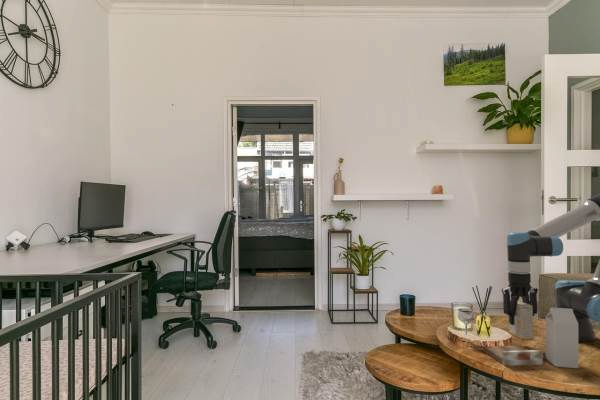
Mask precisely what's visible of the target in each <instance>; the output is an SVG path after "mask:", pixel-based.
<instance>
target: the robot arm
mask: <svg viewBox="0 0 600 400" xmlns="http://www.w3.org/2000/svg"><path fill="white" fill-rule="evenodd" d="M581 204H582V205H579V206H577V207H575V208H574V209H571V210H569V211H567V212H565V213H563V214H561V215H559V216H557V217H555V218H553V219H551V220H548V221H547V222H545V223H542V224H540V225H538V226H537V227H534V228H532V229H530V230H528V231H526V232H525V231H511V232H508V233H507V237H506V238H507V239H506V247H507V250H506V251H507V271H508V272H507V276H508V277H507V279H508V286H507V287H506V288H501V292H502V295H503V296H502V297H503V298H502V299H503V300H502V301H503V303H502V305H503V313H504V314H505V315H507V316H508V324H509V323H510V324H511V332H512V333H514V334H518V333H517V317H516V316H515V313H516V308H517V303H518V301H520V298H521V301H522V302H523V303H526V304H529V305H532V310H533V317H534V316H535V315H537V314H538V296H537V295H538V294H537V293H538V292H539V289H538V288H537V287H535V286H532V285H531V282H532V281H531V279H532V278H531V273H530V272H531V258H532V257H533V258H534V257H550V258H552V257H559V256H560V255H562V254H563V252H564V243H563V241H562V239H561V238H560V237H563V236H565V235H567V234H569V233H571V232H572V231H575V230H577V229H579V228H581V227H584V226H585V225H588V224H590V223H591V222H593V221H596V222H597V221H598V222H599V221H600V193H598V194H596V195H594V196H592V197H590V198H587V199H586V200H584V201H583V202H582V203H581ZM554 290H555V308H567V309H573V313H574V315H575V318H576V320H577V322H578V342H584V343H585V342H586V343H587V342H593V341H596V332H595V331H594V327H593V324H592V322H591V320H592V321H595V322H598V323H600V259H599V261H598V263H597V265H596V268H595V270H594V273H593V276H592V278H589V279H587V280H586V281H585V280H570V279H569V280H568V279H566V280H565V279H564V280H563V279H562V280H557V281H556V282H555V287H554Z"/></svg>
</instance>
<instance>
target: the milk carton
mask: <svg viewBox="0 0 600 400" xmlns="http://www.w3.org/2000/svg"><path fill="white" fill-rule="evenodd" d="M545 359H546V360H547V361H548V362H549V363H550V364H552V365H553V366H554V367H556V368H557V367H558V368H571V369H579V341H578V322H577V320H576V318H575V315H574V313H573V309H567V308H556V307H549V311H548V312H547V314H546V315H545Z"/></svg>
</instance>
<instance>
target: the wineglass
mask: <svg viewBox="0 0 600 400" xmlns="http://www.w3.org/2000/svg"><path fill="white" fill-rule="evenodd" d="M475 312H476V310H475V309H471V308H463V307H462V308H461V307H459V308H457V313H456V314H457V315H456V317H457V319H458V320H459V321H460V322H461V323H462V324H463V325H464V329H465V336H466V335H467V336H468V325H469V324H471V323H473V322H475V319H476V314H475Z"/></svg>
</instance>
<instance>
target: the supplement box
mask: <svg viewBox="0 0 600 400" xmlns="http://www.w3.org/2000/svg"><path fill="white" fill-rule="evenodd" d="M515 316H516V317H517V333H518V334H514V333H512V332H511V324H510V323H509V322H508V330H509V331H508V332H509V335H511V336H512V337H515V338H517V339H519V340H520V341H521V342H523V341H526V342H527V341H534V340H535V338H534V337H535V336H534V335H535V334H534V316H533V310H532V305H529V304H526V303H523V301H522V300H521V301H520V300H518V303H517V308H516V313H515Z"/></svg>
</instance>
